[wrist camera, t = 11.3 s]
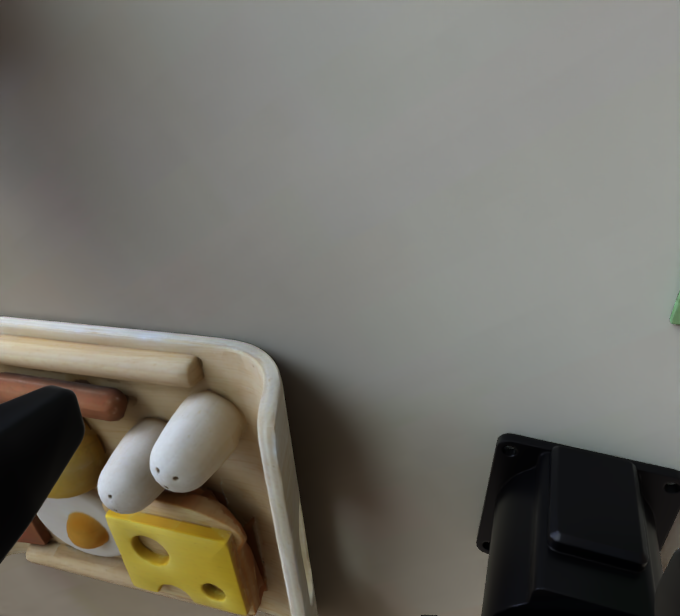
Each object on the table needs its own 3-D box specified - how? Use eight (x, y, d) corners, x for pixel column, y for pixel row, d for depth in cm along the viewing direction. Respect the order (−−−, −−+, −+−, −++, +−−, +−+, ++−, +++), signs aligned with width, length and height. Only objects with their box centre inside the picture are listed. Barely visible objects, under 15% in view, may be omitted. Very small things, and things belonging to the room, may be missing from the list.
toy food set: (-4, 532, 40) (-109, 640, 34) (-135, 296, 31) (-311, 384, 25) (355, 626, 32) (305, 789, 26) (320, 346, 23) (230, 494, 17)
